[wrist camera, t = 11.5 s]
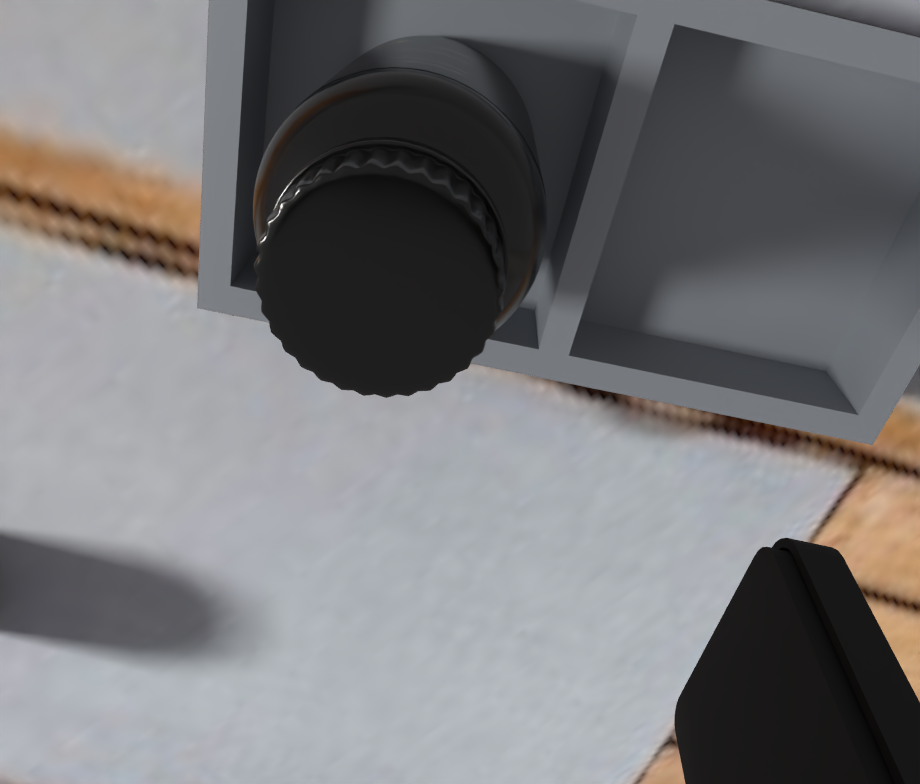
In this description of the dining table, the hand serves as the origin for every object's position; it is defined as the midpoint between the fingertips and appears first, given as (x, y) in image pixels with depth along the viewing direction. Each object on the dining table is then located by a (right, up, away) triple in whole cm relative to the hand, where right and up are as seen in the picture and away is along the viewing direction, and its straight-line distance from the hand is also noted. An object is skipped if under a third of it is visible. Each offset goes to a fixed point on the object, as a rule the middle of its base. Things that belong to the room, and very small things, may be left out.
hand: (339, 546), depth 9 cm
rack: (+6, +9, +17) cm, 20 cm away
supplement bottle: (0, +10, +16) cm, 19 cm away
